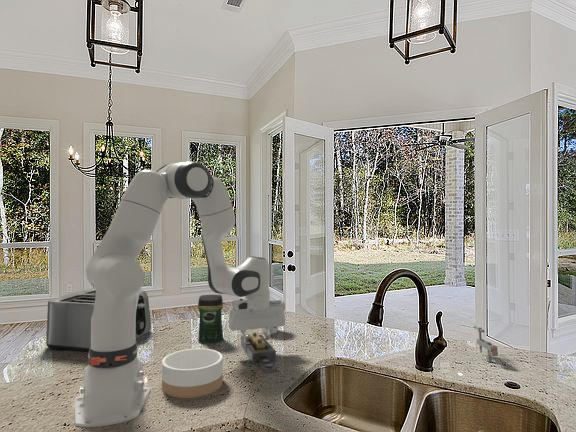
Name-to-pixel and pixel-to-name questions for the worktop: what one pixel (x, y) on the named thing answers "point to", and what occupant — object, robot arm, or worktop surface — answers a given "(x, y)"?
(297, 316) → the worktop surface
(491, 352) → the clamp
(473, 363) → the worktop surface
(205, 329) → the coffee jar
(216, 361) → the bowl
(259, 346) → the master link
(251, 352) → the chain end near
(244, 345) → the chain end far
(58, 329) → the toaster
